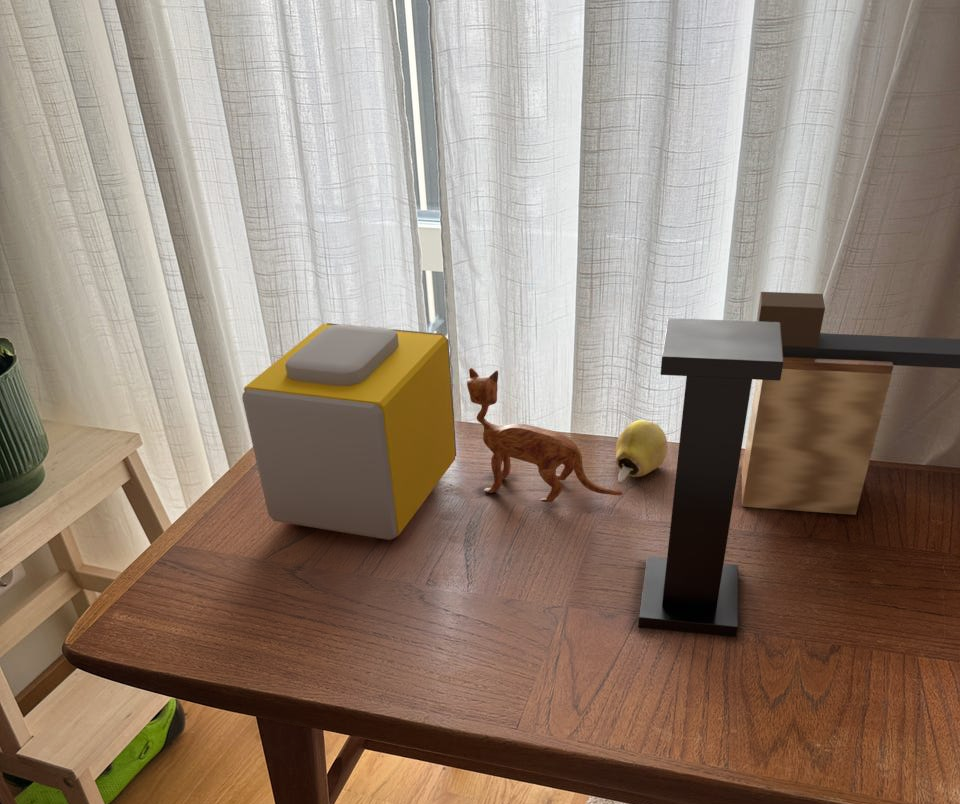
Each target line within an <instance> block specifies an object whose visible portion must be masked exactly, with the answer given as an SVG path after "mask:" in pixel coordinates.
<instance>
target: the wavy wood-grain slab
mask: <svg viewBox="0 0 960 804" xmlns="http://www.w3.org/2000/svg"><path fill="white" fill-rule="evenodd" d="M874 336H877V334H875V335H874ZM783 362H784V363H783V369H782V374H781V380H780V381H777V380H757V379H755V384H754V390H753V398H752V403H751V410H750V415H749V416H750V417H749V422H748V423H749V424H748V427H747V428H748V429H747V435H746V442H745V448H744V455H743V460H742V466H741V507H745V508H757V509H770V510H771V509H772V510H784V511H797V512H810V513H823V514H824V513H825V514H839V515H851V516H856V515H857V512H858V509H859V505H860V504H859V503H860V500H861V496H862V492H863V489H864V485H865V482H866V481H865V480H866V477H867V474H868V469H869V466H870V461H871V457H872V453H873V450H874V446H875V442H876V438H877V434H878V430H879V426H880V423H881V419H882V415H883V410H884V407H885V403H886V399H887V395H888V391H889V387H890V383H891V379H892V377H893V374H892V373H893V370H894V365H893V362H884V361H861V360H838V359H815V358H792V357H783Z"/></svg>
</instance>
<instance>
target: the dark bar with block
mask: <svg viewBox="0 0 960 804" xmlns="http://www.w3.org/2000/svg"><path fill="white" fill-rule="evenodd" d="M758 301H759V302H758V307H757V315H756V321H759V322H780V326H781V338H782V350H783V357H792V358H815V359H838V360H861V361H884V362H893V366H896V367H897V366H898V367H899V366H901V367H920V368H921V367H922V368H941V369H942V368H943V369H960V338H945V337H944V338H943V337H942V338H941V337H923V336H922V337H920V336H919V337H917V336H897V335H895V336H894V335H876V336H874V335H873V334H849V333H848V334H847V333H846V334H845V333H825V332H824V333H823V332H822V327H823V320H824V315H825V310H826V306H825V299H824V294H823V293H811V292H810V293H809V292H805V293H804V292H784V291H783V292H782V291H781V292H779V291H760V294H759V300H758Z"/></svg>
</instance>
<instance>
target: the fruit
mask: <svg viewBox="0 0 960 804" xmlns="http://www.w3.org/2000/svg"><path fill="white" fill-rule="evenodd" d="M668 447H669V446H668V440H667V436H666V433H665V432H664V430H663V429H662V428H661V426H660V425H659V424H658V423H655V422H653V421H650V420H647V419H638V420H635V421H633V422H631V423H629V424H628V425H627V426H625V428H624V429H623V430H622V431H621V432H620V434H619V436H618V438H617V441H616V444H615V464H616V466H617V469H619V470H620V471H619V472H618V475H617V476H618V477H617V484H619V485H622V483H624V481H625V480H626V479H627V478H628V476H629V477H631V478H640V477H643V476H646V475H648V474H649V473H651V472H652V471H654V470H656V469H657V468H659V467H660V466H661V465H662V464H663V463H664V462H665V460H666V458H667V456H668Z"/></svg>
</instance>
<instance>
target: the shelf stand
mask: <svg viewBox="0 0 960 804" xmlns="http://www.w3.org/2000/svg"><path fill="white" fill-rule="evenodd" d="M783 363H784V362H783V350H782V338H781V326H780V322H759V321H757V320H755V321H753V320H731V319H730V320H729V319H728V320H727V319H726V320H725V319H705V318H703V319H702V318H699V319H698V318H675V317H673V318H672V317H669V318H667V323H666V329H665V335H664V341H663V348H662V355H661V364H660V375H661V376H675V377H686V378H685V385H684V397H683V404H682V405H683V406H682V415H681V422H680V423H681V424H680V433H679V441H678V442H679V443H678V452H677V461H676V470H675V471H676V472H675V481H674V489H673V498H672V499H673V500H672V509H671V519H670V528H669V535H668V536H669V537H668V545H667V546H668V547H667V554H666V555H667V556H666V557H665V558H664V557H655V556H654V557H653V556H647V557H646V560H645V561H646V563H645V569H644V576H643V583H642V591H641V598H640V599H641V600H640V605H639V614H638V623H637V627H638V628H643V629H655V630H663V631H674V632H684V633H695V634H705V635H713V636H714V635H715V636H724V637H733V638H734V637H735V638H736V637H737V636H738V630H739V564H734V563H725V557H726V551H727V545H728V537H729V531H730V526H731V517H732V511H733V506H734V499H735V492H736V486H737V479H738V475H739V474H738V473H739V469H740V468H739V466H740V460H741V453H742V447H743V441H744V436H745V435H744V434H745V428H746V421H747V415H748V410H749V403H750V395H751V389H752V383H753V380H756V379H757V380H777V381H780V380H781V374H782V369H783Z"/></svg>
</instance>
